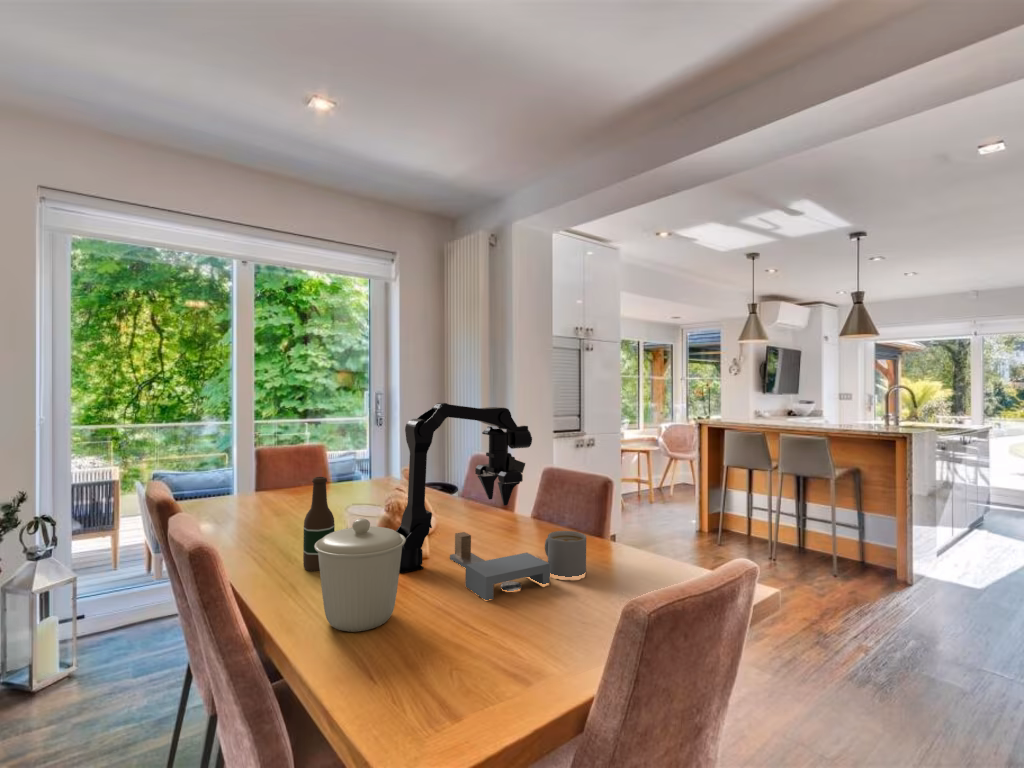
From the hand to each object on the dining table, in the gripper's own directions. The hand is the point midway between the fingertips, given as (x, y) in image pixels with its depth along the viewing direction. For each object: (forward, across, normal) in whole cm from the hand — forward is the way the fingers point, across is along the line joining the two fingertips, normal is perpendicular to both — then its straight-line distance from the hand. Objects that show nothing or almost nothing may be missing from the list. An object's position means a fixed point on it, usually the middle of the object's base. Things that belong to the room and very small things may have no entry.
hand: (497, 502), depth 156 cm
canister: (+15, -26, +47) cm, 56 cm away
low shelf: (+15, -25, +11) cm, 31 cm away
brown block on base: (+15, -8, +12) cm, 20 cm away
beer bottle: (+15, +12, +48) cm, 52 cm away
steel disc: (+15, -27, +11) cm, 33 cm away
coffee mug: (+15, -24, -7) cm, 29 cm away
